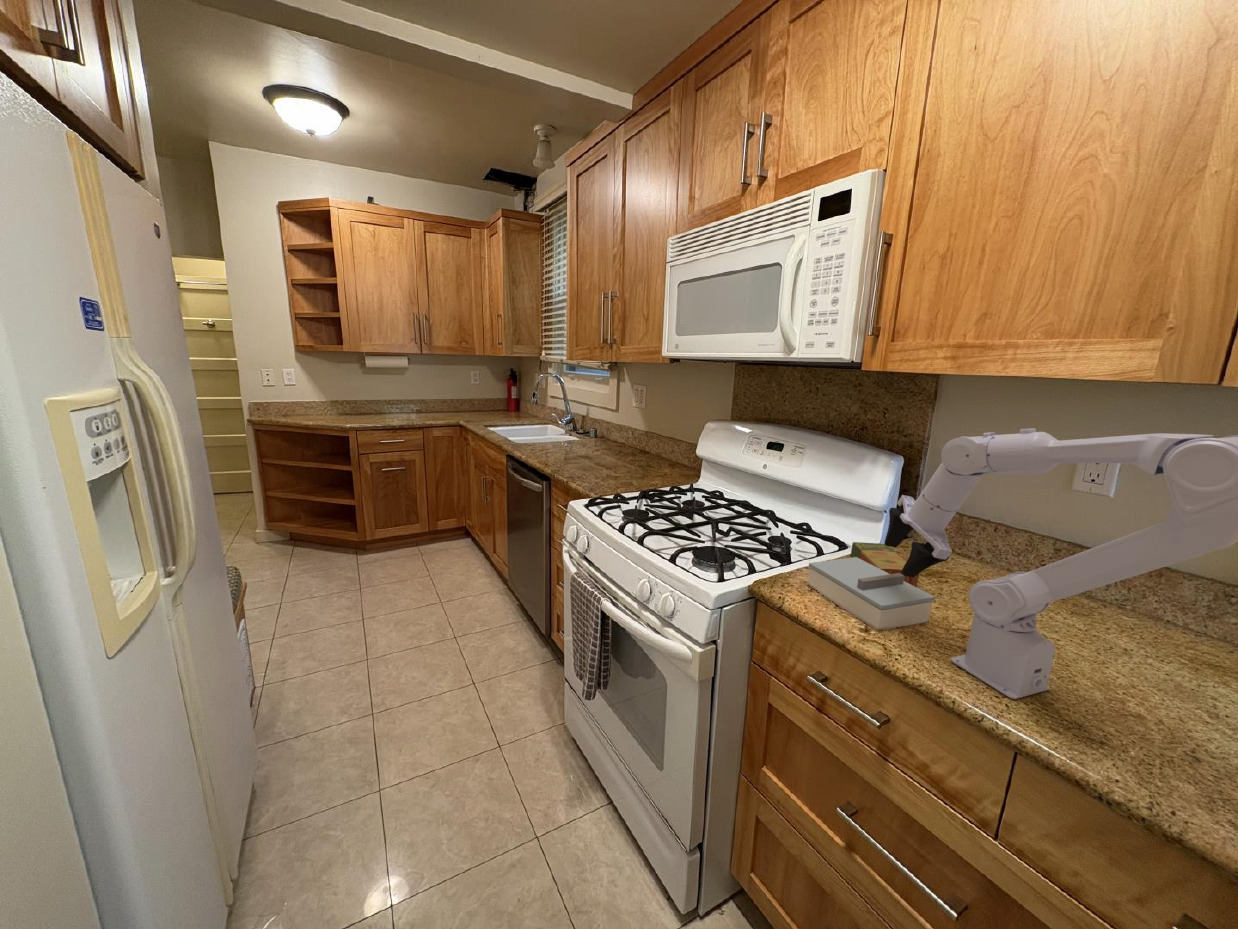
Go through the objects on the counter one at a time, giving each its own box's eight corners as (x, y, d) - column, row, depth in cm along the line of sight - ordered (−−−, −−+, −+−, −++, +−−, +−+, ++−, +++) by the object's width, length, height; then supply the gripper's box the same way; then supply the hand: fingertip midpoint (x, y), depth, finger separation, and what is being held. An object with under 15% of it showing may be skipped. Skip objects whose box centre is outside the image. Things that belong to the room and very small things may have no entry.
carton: (876, 586, 103) (879, 567, 102) (849, 556, 118) (851, 540, 117) (917, 589, 102) (920, 570, 101) (884, 559, 117) (887, 542, 117)
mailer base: (928, 621, 88) (932, 601, 87) (877, 631, 84) (881, 610, 84) (853, 579, 105) (855, 561, 104) (807, 585, 101) (809, 567, 100)
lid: (934, 600, 87) (936, 588, 87) (881, 609, 83) (883, 596, 83) (855, 560, 104) (857, 549, 104) (808, 566, 100) (810, 555, 100)
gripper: (898, 472, 86) (863, 529, 93) (937, 524, 74) (893, 585, 81) (936, 479, 86) (897, 536, 93) (981, 533, 74) (933, 593, 81)
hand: (898, 559), depth 87 cm, fingers open, 7 cm apart
